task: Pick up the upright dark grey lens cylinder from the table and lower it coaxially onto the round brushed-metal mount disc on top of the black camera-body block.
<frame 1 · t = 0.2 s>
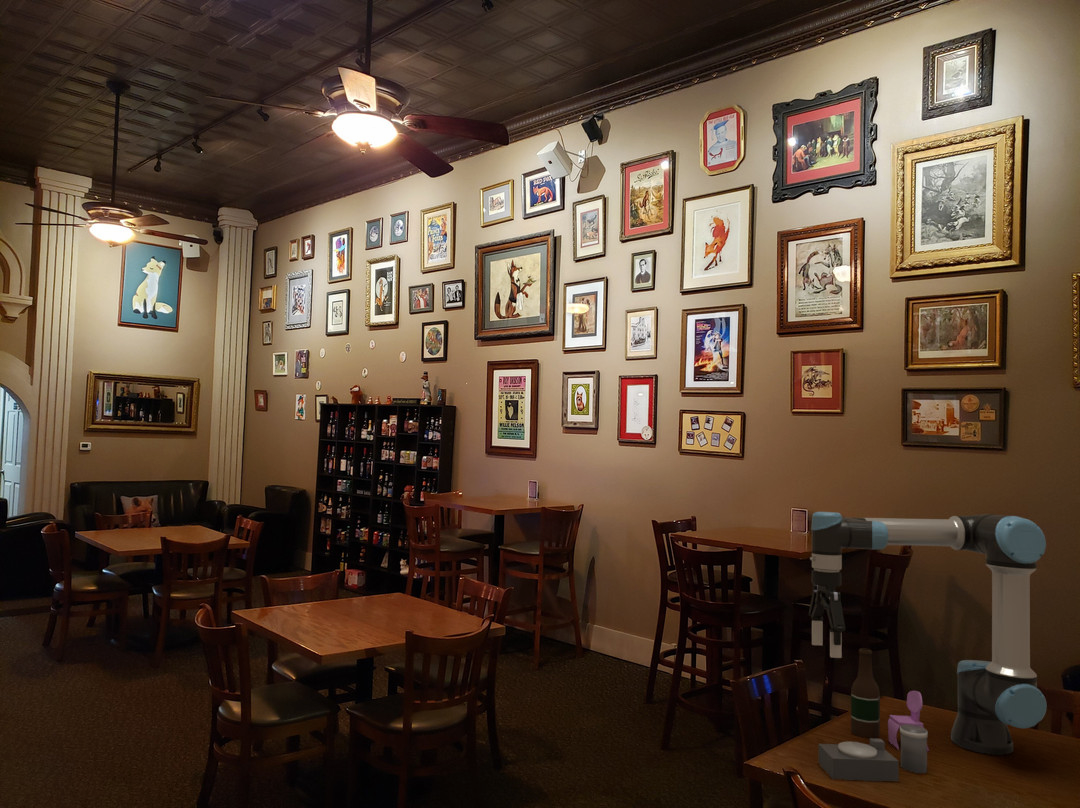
hand: (826, 651, 204), 27 cm above the table, tool pointing down, fingers open, 13 cm apart
toy chair: (907, 747, 212), on the table
lens: (913, 768, 196), on the table
camera body block: (857, 772, 192), on the table
beer bottle: (865, 734, 221), on the table
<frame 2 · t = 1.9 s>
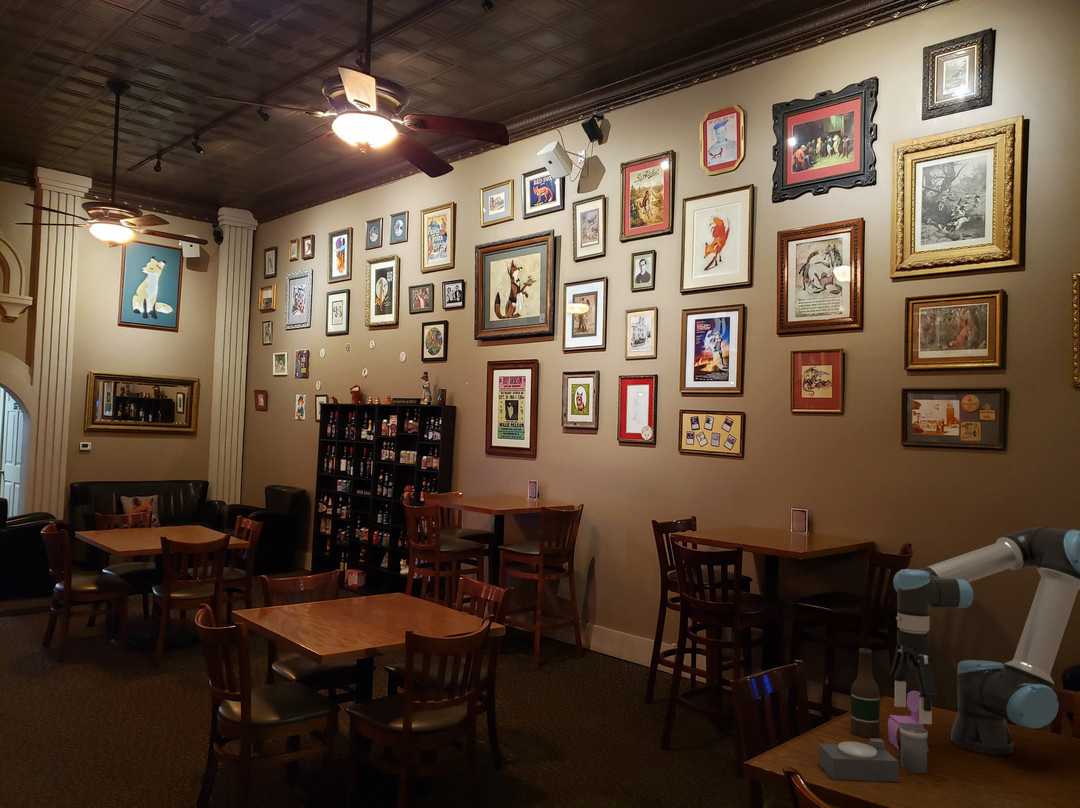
hand: (912, 714, 197), 13 cm above the table, tool pointing down, fingers open, 13 cm apart
nothing on the table moved.
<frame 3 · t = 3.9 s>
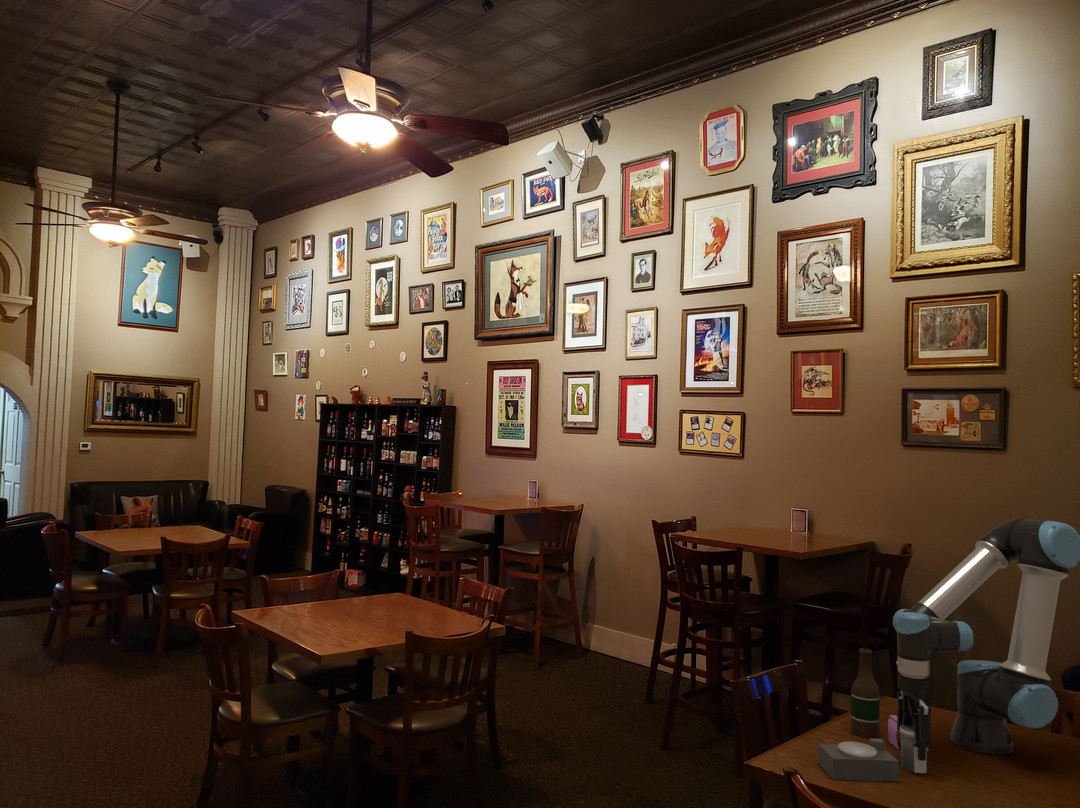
hand: (913, 767, 196), 0 cm above the table, tool pointing down, fingers closed on lens, 6 cm apart
lens: (913, 768, 196), on the table, touching gripper
everything else where it was.
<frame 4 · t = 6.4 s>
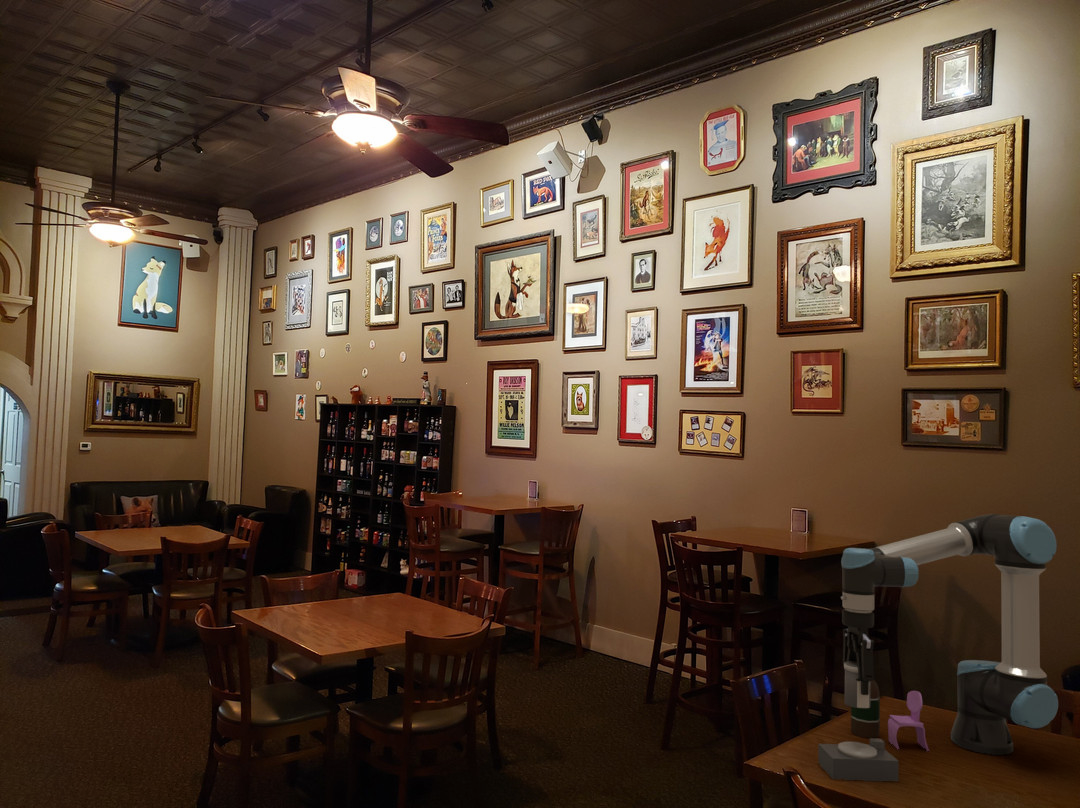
hand: (857, 703, 194), 17 cm above the table, tool pointing down, fingers closed on lens, 6 cm apart
lens: (857, 704, 194), point 17 cm above the table, touching gripper
everything else where it was.
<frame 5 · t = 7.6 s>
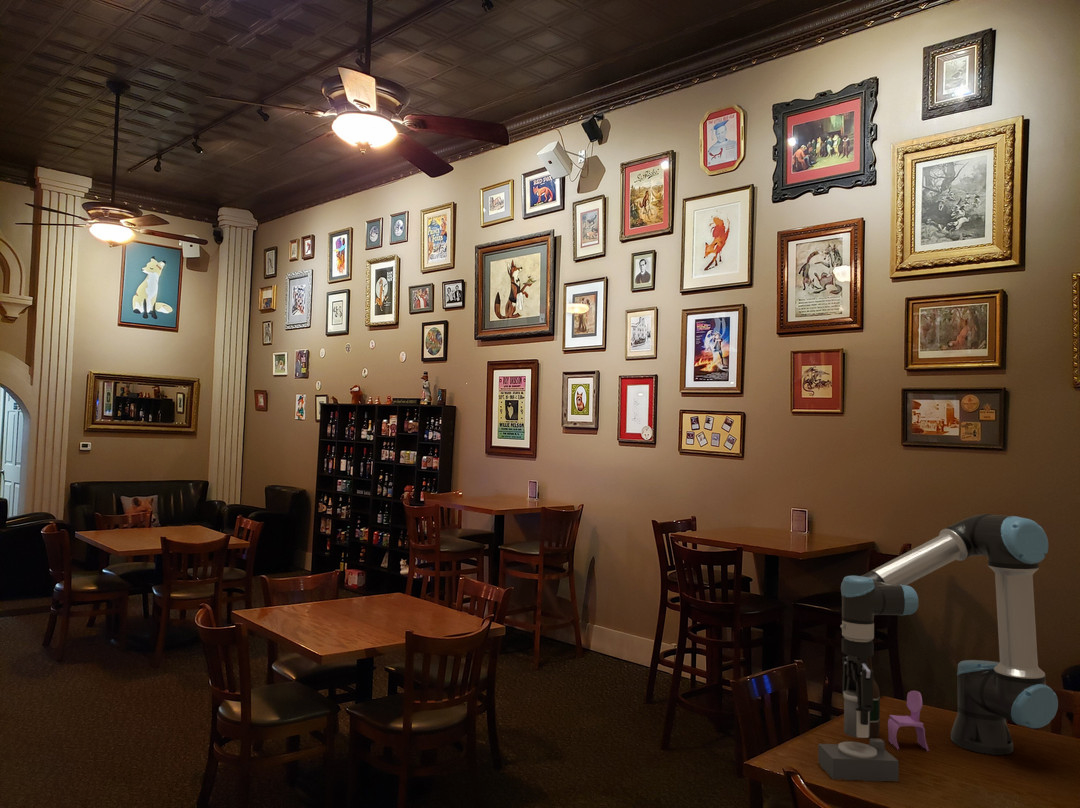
hand: (857, 732, 193), 10 cm above the table, tool pointing down, fingers closed on lens, 6 cm apart
lens: (856, 733, 193), point 9 cm above the table, touching gripper
everything else where it was.
when the fingers open (8 cm above the table, at t = 8.7 s): lens drops 1 cm, resting on camera body block.
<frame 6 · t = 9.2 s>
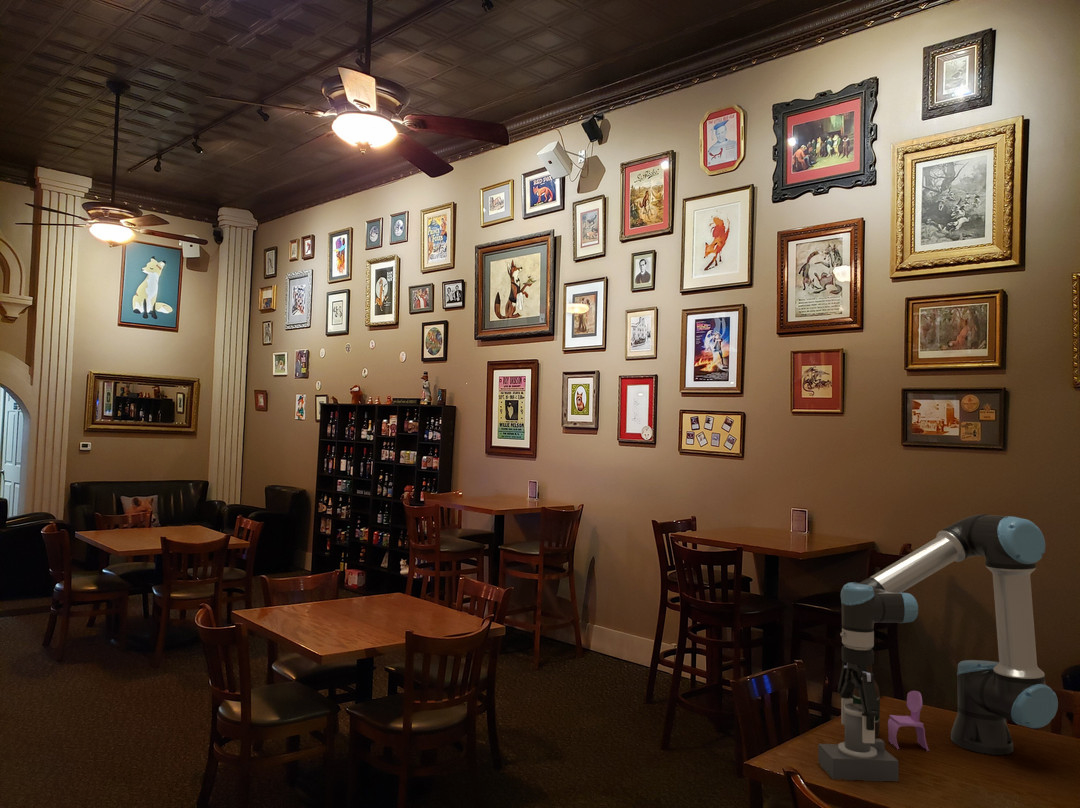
hand: (857, 733, 193), 10 cm above the table, tool pointing down, fingers open, 13 cm apart
lens: (857, 748, 193), point 6 cm above the table, touching camera body block
everything else where it was.
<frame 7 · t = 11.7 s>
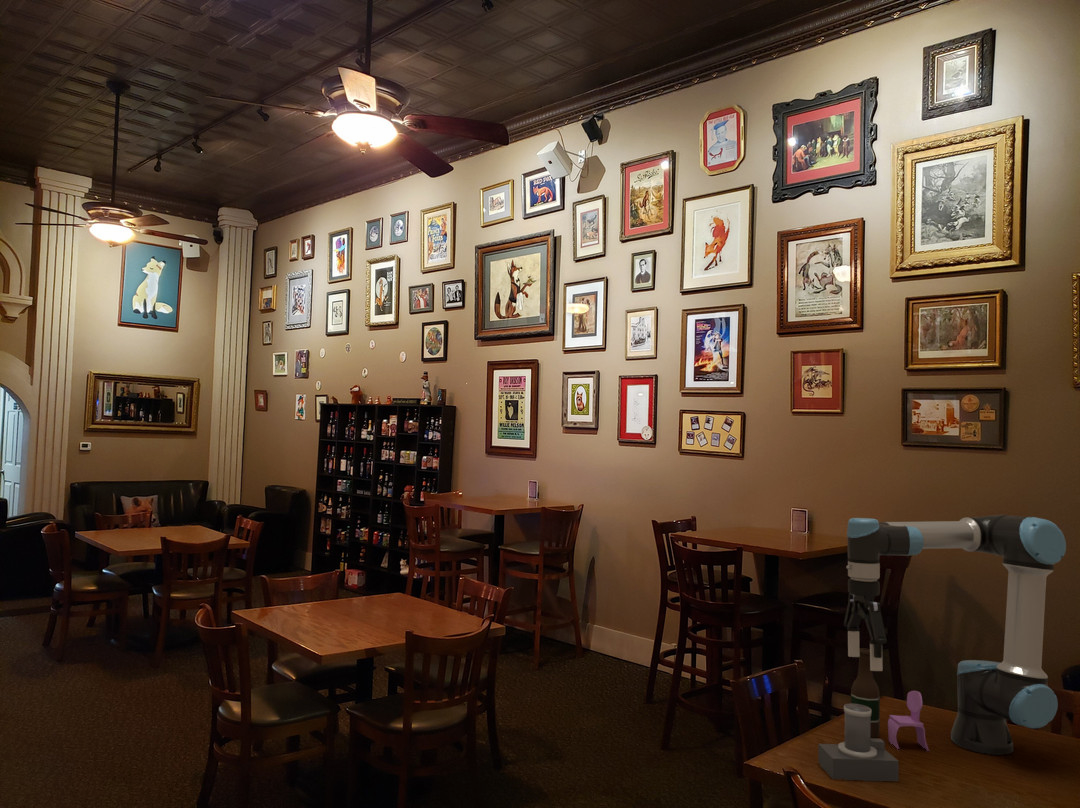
hand: (864, 663, 196), 27 cm above the table, tool pointing down, fingers open, 13 cm apart
nothing on the table moved.
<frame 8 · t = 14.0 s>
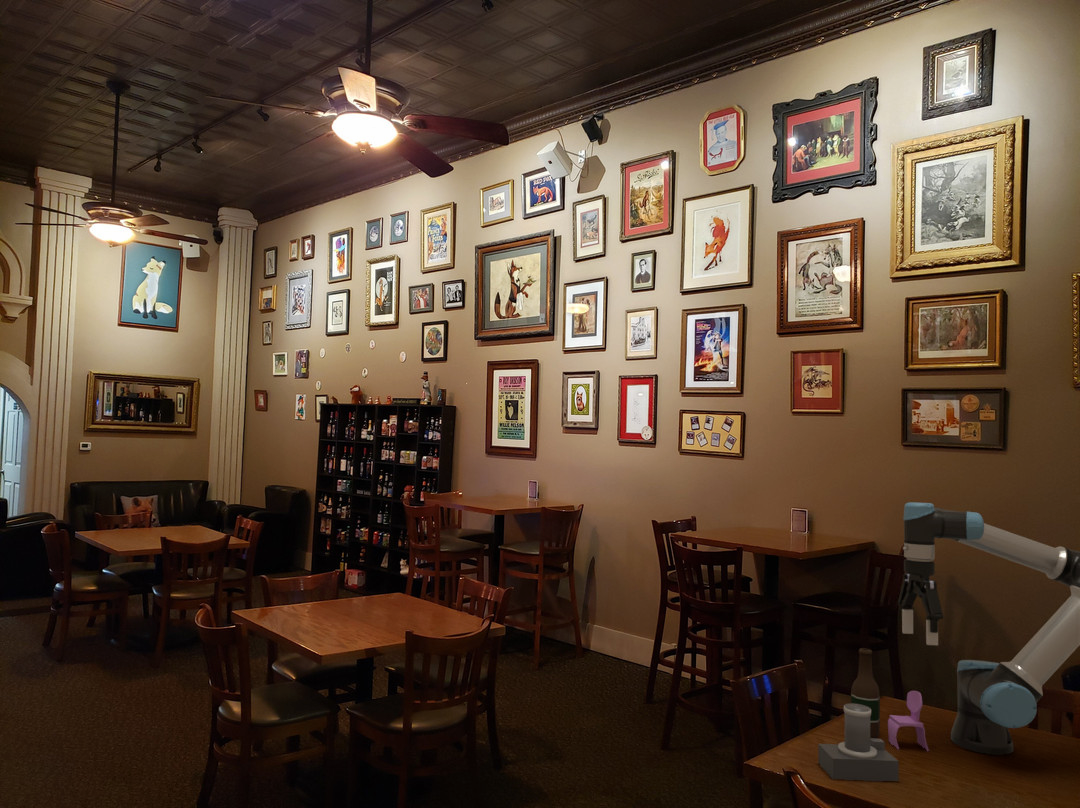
hand: (919, 639, 208), 31 cm above the table, tool pointing down, fingers open, 13 cm apart
nothing on the table moved.
at the end: lens inside the target area on the camera body block (0.0 cm from its centre), point 6.0 cm above the camera body block's base; lens tilted 0°; the gripper is holding nothing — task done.
